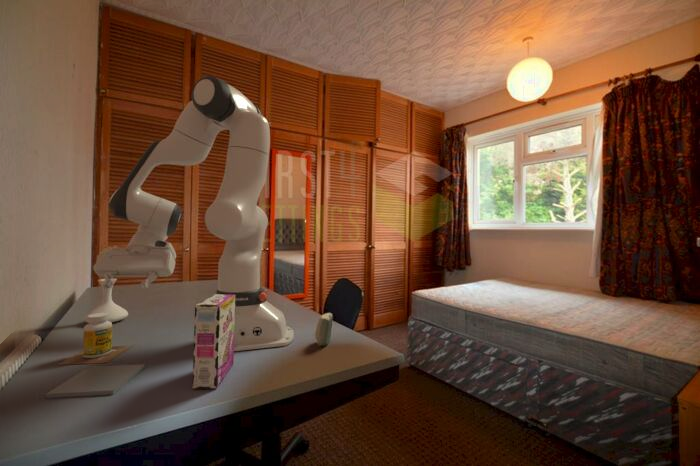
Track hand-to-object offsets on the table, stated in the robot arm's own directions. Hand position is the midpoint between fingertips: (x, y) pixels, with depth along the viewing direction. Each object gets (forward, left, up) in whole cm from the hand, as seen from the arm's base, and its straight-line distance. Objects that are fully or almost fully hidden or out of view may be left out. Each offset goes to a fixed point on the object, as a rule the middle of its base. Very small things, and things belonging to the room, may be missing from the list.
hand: (125, 287), depth 84 cm
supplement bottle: (0, +11, -14) cm, 18 cm away
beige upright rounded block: (-55, +9, -15) cm, 58 cm away
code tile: (0, +11, -14) cm, 18 cm away
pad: (-9, +25, -14) cm, 30 cm away
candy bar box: (-31, +25, -15) cm, 42 cm away
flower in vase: (+14, -17, -15) cm, 26 cm away
